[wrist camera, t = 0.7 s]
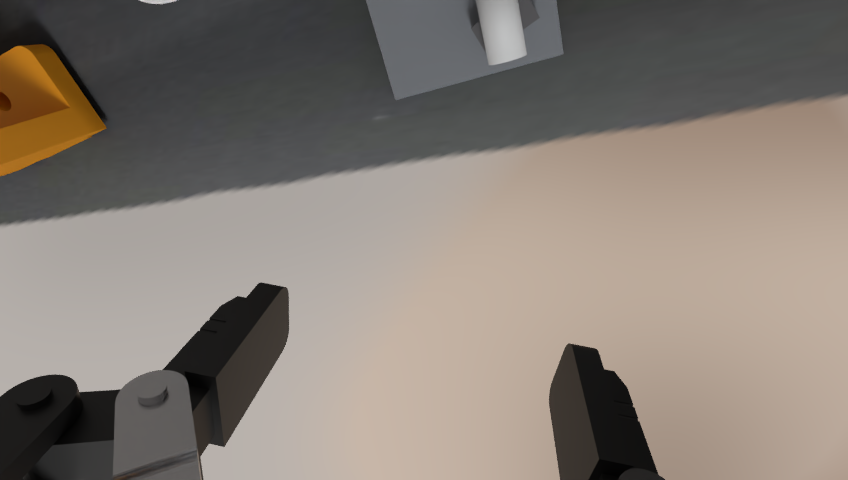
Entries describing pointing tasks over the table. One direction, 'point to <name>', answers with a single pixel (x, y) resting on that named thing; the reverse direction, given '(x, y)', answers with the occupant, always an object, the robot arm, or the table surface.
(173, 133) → the table surface
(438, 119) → the table surface
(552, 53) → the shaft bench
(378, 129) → the table surface
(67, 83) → the bracket
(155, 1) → the ramekin
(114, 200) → the table surface
